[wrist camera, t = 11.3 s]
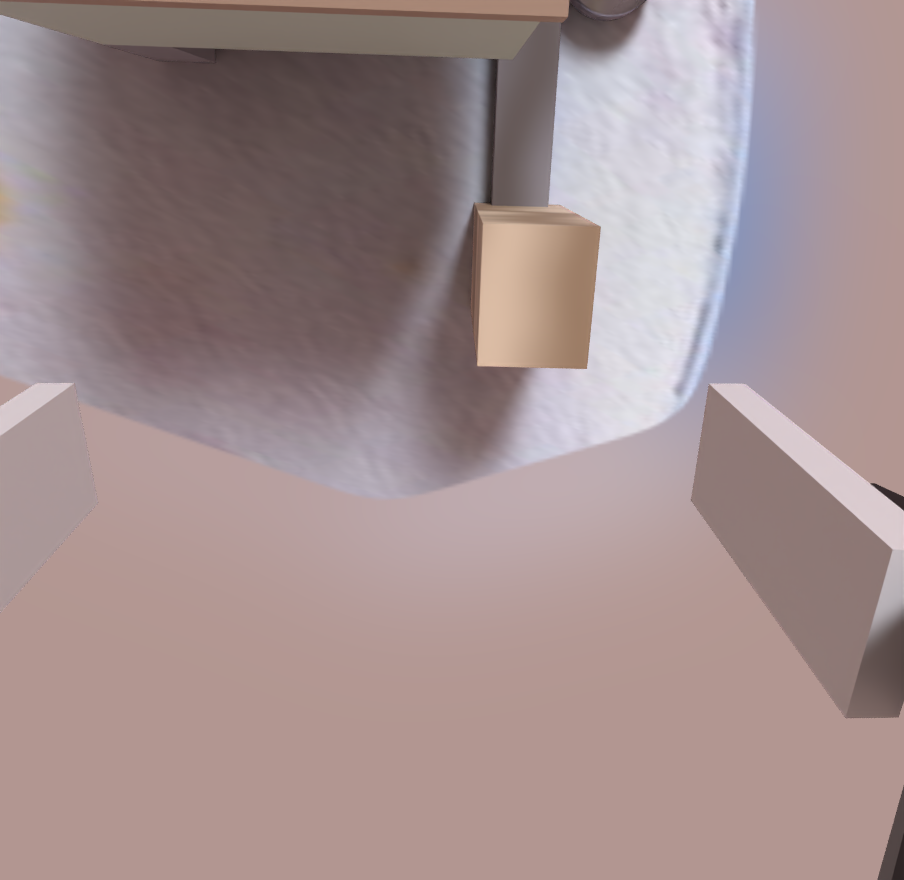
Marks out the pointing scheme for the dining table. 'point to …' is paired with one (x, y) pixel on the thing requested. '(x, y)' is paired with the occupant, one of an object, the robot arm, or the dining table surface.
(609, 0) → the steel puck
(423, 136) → the dining table surface
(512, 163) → the wooden toy block
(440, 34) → the cabinet
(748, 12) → the dining table surface
